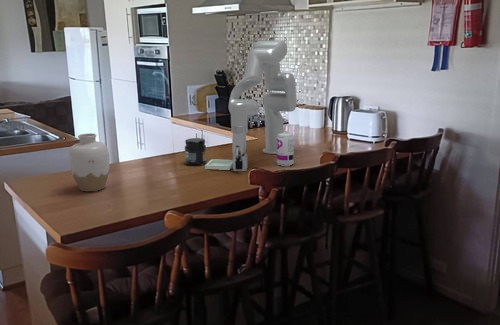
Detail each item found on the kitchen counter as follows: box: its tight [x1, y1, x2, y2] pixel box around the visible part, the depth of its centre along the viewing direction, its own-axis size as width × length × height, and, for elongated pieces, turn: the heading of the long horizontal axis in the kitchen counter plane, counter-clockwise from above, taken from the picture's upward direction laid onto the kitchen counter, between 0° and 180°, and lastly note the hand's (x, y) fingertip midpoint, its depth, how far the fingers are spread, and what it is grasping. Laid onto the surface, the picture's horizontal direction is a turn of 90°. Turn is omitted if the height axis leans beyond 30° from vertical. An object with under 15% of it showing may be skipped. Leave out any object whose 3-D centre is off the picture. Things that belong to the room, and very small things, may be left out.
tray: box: [204, 158, 233, 170], centre depth 232 cm, size 12×12×2 cm
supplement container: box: [184, 137, 208, 166], centre depth 239 cm, size 10×10×12 cm
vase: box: [68, 133, 111, 192], centre depth 200 cm, size 16×16×23 cm
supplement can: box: [276, 132, 295, 167], centre depth 233 cm, size 8×8×15 cm
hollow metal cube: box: [232, 152, 248, 172], centre depth 225 cm, size 6×6×8 cm
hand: (240, 167), depth 226 cm, fingers closed on hollow metal cube, 5 cm apart
